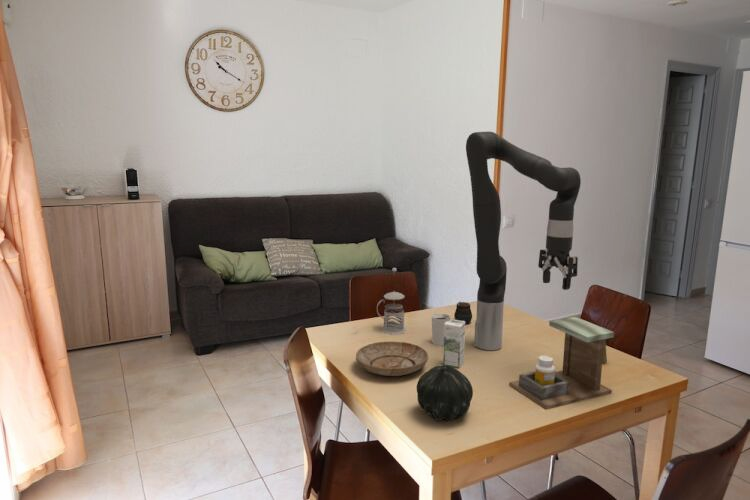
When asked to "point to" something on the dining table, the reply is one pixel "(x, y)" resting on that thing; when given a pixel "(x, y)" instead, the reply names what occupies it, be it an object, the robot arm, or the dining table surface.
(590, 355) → the awning stand
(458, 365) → the syrup box
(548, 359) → the supplement bottle
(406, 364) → the ceramic bowl
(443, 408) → the squash
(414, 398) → the dining table surface
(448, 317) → the white mug
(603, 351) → the cork
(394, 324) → the french press
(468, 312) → the mate gourd
